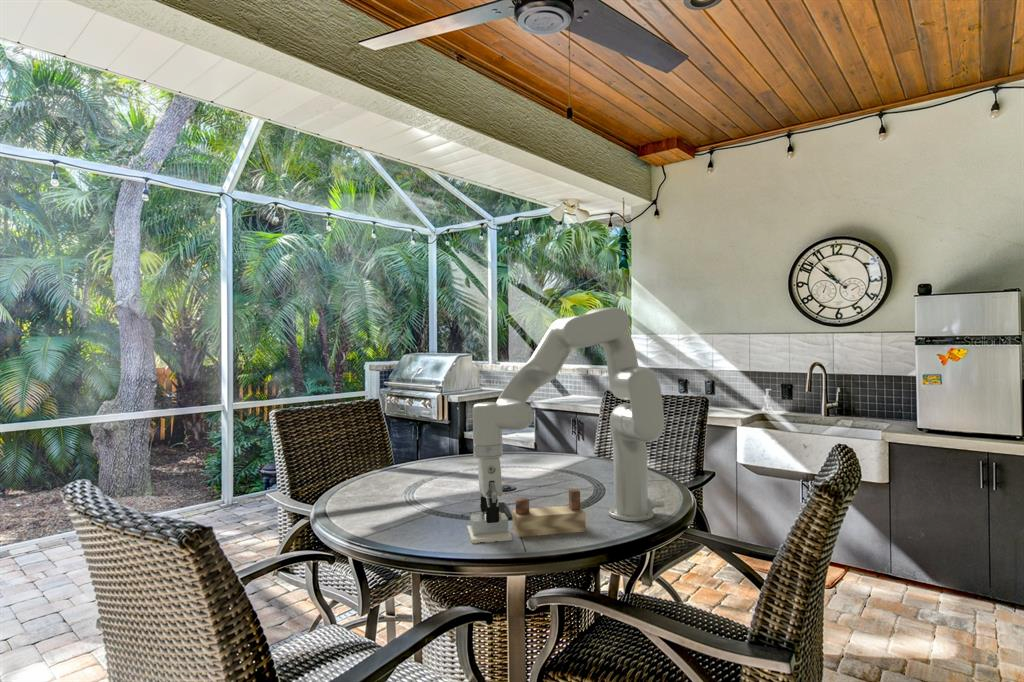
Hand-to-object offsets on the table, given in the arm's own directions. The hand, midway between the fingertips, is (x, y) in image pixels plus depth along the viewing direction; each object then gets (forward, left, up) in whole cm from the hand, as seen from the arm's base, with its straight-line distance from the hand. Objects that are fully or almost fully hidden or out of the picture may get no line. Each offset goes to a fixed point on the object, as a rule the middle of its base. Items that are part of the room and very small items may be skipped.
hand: (489, 516), depth 149 cm
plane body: (-16, 0, -5) cm, 16 cm away
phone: (-5, -19, -5) cm, 20 cm away
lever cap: (0, 0, -4) cm, 4 cm away
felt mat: (0, 0, -5) cm, 5 cm away
